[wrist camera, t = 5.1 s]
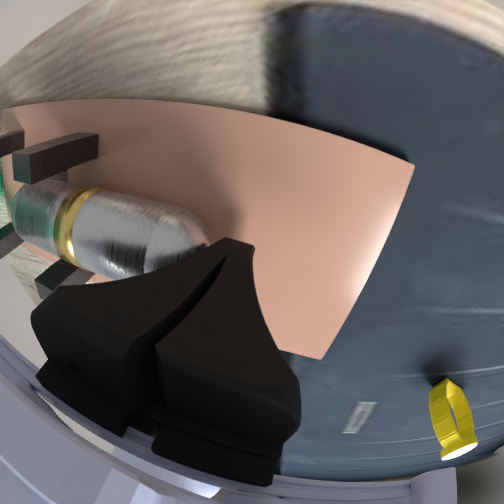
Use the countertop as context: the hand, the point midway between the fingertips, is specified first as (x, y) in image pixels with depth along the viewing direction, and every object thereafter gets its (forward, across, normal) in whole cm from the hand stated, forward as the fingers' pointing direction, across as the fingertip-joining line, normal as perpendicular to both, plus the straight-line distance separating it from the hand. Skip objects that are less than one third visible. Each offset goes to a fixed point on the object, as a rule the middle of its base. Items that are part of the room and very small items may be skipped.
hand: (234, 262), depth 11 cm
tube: (+1, +7, 0) cm, 7 cm away
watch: (+2, -17, +7) cm, 19 cm away
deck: (+2, +7, 0) cm, 7 cm away
